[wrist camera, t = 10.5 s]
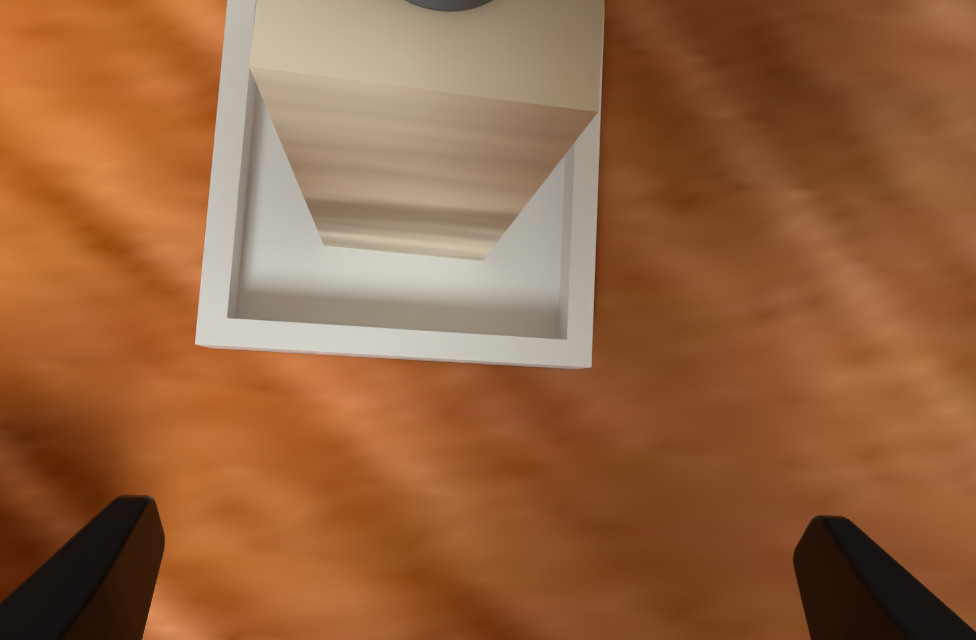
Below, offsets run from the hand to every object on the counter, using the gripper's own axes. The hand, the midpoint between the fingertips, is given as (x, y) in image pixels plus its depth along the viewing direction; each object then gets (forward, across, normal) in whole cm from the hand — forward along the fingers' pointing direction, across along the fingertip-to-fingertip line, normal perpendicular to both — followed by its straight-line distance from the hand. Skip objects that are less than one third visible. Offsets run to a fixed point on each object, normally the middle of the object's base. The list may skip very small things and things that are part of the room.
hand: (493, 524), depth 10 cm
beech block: (+15, +2, +2) cm, 15 cm away
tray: (+16, +2, +2) cm, 16 cm away
